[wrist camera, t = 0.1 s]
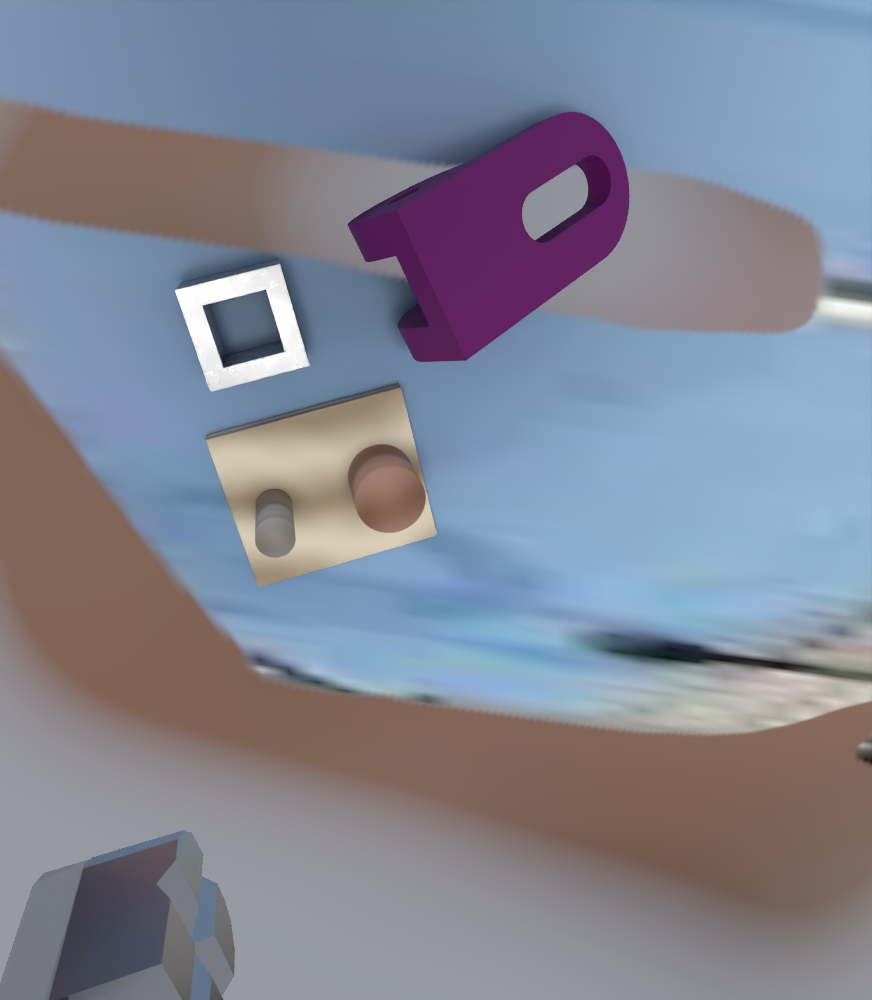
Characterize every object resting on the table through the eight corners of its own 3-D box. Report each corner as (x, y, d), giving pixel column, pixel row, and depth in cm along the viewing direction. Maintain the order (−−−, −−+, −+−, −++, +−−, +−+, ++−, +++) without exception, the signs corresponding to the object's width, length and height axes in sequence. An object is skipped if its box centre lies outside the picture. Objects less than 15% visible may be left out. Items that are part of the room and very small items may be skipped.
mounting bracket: (515, 124, 57) (326, 232, 50) (600, 89, 50) (396, 209, 43) (560, 246, 61) (392, 363, 54) (645, 229, 54) (465, 360, 47)
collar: (181, 282, 51) (174, 290, 47) (278, 258, 51) (279, 264, 48) (213, 377, 53) (210, 391, 50) (306, 353, 54) (309, 365, 50)
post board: (206, 435, 55) (199, 469, 48) (398, 383, 56) (416, 409, 50) (258, 579, 60) (258, 628, 53) (433, 528, 61) (454, 570, 54)
